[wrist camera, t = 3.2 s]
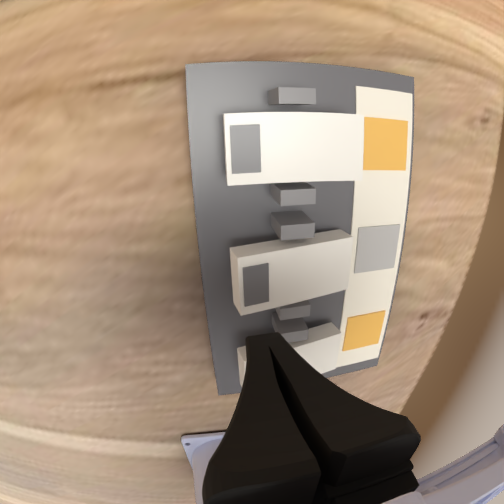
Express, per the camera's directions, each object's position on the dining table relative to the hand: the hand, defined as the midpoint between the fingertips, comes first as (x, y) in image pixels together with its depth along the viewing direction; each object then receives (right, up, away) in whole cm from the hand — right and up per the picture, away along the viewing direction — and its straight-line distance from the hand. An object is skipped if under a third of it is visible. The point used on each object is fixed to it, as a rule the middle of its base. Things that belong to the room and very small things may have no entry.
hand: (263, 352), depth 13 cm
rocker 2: (+2, +3, +3) cm, 5 cm away
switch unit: (+3, +5, +6) cm, 8 cm away
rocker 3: (+2, -2, +6) cm, 6 cm away
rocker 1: (+1, +9, +1) cm, 9 cm away
